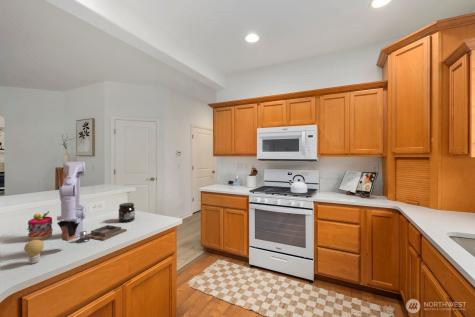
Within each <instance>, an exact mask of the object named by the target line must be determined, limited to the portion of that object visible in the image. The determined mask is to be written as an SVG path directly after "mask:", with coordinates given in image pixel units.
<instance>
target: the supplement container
mask: <svg viewBox="0 0 475 317" xmlns="http://www.w3.org/2000/svg"><path fill="white" fill-rule="evenodd" d="M135 209H136V208H135V203H134V202H124V203H120V204H119V205H118V221H119V222H120V223H130V222H133V221H134V220H135V219H136V215H135V212H136V211H135Z"/></svg>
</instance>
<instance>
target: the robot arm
mask: <svg viewBox="0 0 475 317" xmlns="http://www.w3.org/2000/svg"><path fill="white" fill-rule="evenodd" d="M63 171H64V174H65V177H64V178H63V182H62V185H61V186H59V190H58V193H59V200H60V209H61V210H60V212H61V213H60V215H58V216H56V221H58V222H57V225H58V227H59V228H60V230H61V231H62V226H65V225H66V226H67V228H68V231H69V236H70V237H71V236H74V235H75V232H76V238H78V237H79V238H80V232H82V231H84V221H83V220H85V218H86V215H87V214H86V212H87V211H86V206H85V205H84V204H82V203H81V179H82V177H83V176H85V175H86V174H85V173H86V162H85V161H83V160H82V161H65V162H63ZM87 234H88V233H87V232H86V235H87Z"/></svg>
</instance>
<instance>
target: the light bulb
mask: <svg viewBox="0 0 475 317" xmlns="http://www.w3.org/2000/svg"><path fill="white" fill-rule="evenodd" d="M44 246H45V244H44V241H43V240H32V241H28V242H27V243H26V244H25V245H24V247H23V250H24V253H25V254H26V255H27V256H28V263H29V264H30V265H32V264H37V263H39V262H40V261H41V252H42V251H43V249H44Z"/></svg>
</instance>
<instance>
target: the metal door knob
mask: <svg viewBox="0 0 475 317" xmlns="http://www.w3.org/2000/svg"><path fill="white" fill-rule="evenodd" d="M86 233H87V230H83V231H82V232H80V236H79V238H77V239H76V243H77V244H82V243H86V242H90V239H91V238H89V237H86V235H87V234H86Z"/></svg>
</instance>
